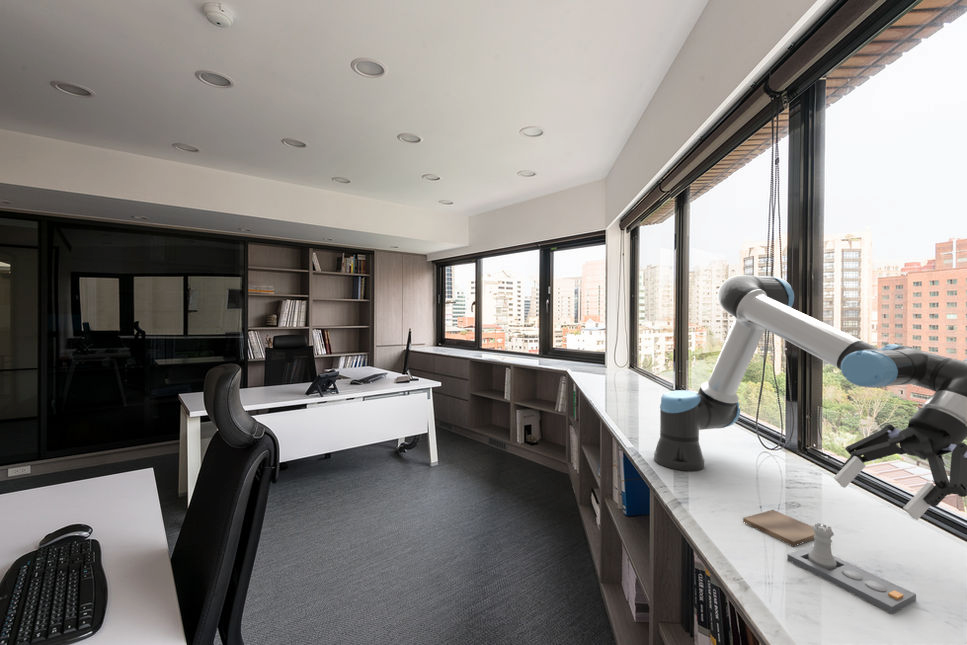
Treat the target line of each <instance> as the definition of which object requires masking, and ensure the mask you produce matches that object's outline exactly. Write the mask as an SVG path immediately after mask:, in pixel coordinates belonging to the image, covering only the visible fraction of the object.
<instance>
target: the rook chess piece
mask: <svg viewBox="0 0 967 645" xmlns="http://www.w3.org/2000/svg"><path fill="white" fill-rule="evenodd" d="M812 529H813V531H814V532H815V535H814V538H815V539H814V544H813V547H814V548H813V550H811V552H810V553H809V555H808V557H809V559H808V561H810V562H812V563H814V564H816V565H818V566H820V567H822V568H824V569H826V570H828V571H831V570H834V569H836V568H837V567H836V565H837V563H836V561H835V559H834V557H833V556H834V555H833V553H832V543H833V540H832V538H833V536H835V534H834V532H833V530H832V527H831V526H827V524H824V523H823V524H821V523H818V522H817V523H814V526H813V528H812ZM832 555H833V556H832Z"/></svg>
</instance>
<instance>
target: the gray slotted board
mask: <svg viewBox="0 0 967 645" xmlns="http://www.w3.org/2000/svg"><path fill="white" fill-rule="evenodd" d="M813 548H814V545H810V546H807V547H803V548H801V549H797V550H795V551H792V552H790V553H787V555H786V556H787V559H786V560H787V562H791V563H793V564H794V565H796V566H798V567H800V568H802V569H804V570H806V571H807V572H810V573H812V574H813V575H816V576H818V577H819V578H821V579H824V580H825V581H827V582H829V583H831V584H833V585H835V586H837V587H838V588H840V589H842V590H845V591H847V592H849V593H851V594H852V595H854V596H856V597H858V598H861V599H862V600H864V601H866V602H868V603H870V604H871V605H874V606H875V607H877V608H879V609H882V610H883V611H885V612H887V613H889V614H891V615H893V614H894V613H896V612H898V611H901V609H904V608H905V607H908V606H909V605H911V604H913V603H915V602H916V601H917V593H915V592H912V591H910V590H908V589H906V588H904V587H902V586H899V585H897V584H895V583H893V582H891V581H889V580H888V579H887V580H886V579H885V578H883V577H880V576H878V575H876V574H874V573H872V572H870V571H867V570H865V569H863V568H861V567H858V566H857V565H854V564H852V563H849V562H848V561H846V560H843V559H841V558H839V557H837V556H834V555H833V554H832V556H833V557H834V559H835V561H836V563H837V565H836V569H834V570H831V571H828V570H826V569H824V568H822V567H820V566H818V565H816V564H814V563H812V562H810V561H808V560H807V559H809V557H808V555H809V553H810V552H811V550H813Z"/></svg>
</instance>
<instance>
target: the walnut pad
mask: <svg viewBox="0 0 967 645" xmlns="http://www.w3.org/2000/svg"><path fill="white" fill-rule="evenodd" d="M742 520H743V521H742V523H744V522H745V523H744V524H746V523H747V524H746V525H748V526H750V527H752V528H755V529H757V530H759V531H761V532H763V533H765V534H766V535H769V536H771V537H774V538H775V539H777V540H779V541H781V542H783V541H784V543H785V542H786V543H785V544H787V543H788V545H790V544H791V545H790V546H792V545H793V546H792V547H796V546H798V545H797V544H799V545H801V544H800V543H802V542H805V543H807V542H806V541H808V542H810V541H809V540H811V541H813V540H815V538H814V535H815V532H814V531H813V529H812V528H813V527H814V526H812V525H810V524H808V523H806V522H804V521H800V520H798V519H796V518H793V517H791V516H789V515H787V514H784V513H782V512H779V511H777V510H775V509H770V510H766V511H763V512H759V513H756V514H752V515H748V516H746V517H742ZM812 539H813V540H812ZM802 544H803V543H802ZM795 545H796V546H795Z"/></svg>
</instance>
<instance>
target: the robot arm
mask: <svg viewBox="0 0 967 645" xmlns="http://www.w3.org/2000/svg"><path fill="white" fill-rule="evenodd" d="M716 296H717V302H718V305H719V306H720V307H721V309H723V311H725V313H728V314H729V315H731V316H733V318H734V319H733V322H732V324H731V327H730V329H729V331H728V334H727V336H726V338H725V341H724V343H723V346H722V349H721V350H720V353H719V355H718V358H717V360H716V362H715V365H714V367H713V370H712V372H711V375H710V377H709V378H708V381H706V382H703V383H701V385H700V387H699V389H698V392H696V391H693V390H686V389H682V390H679V389H678V390H671V391H667V392H665V393H663V394H662V396H661V397H660V405H659V408H660V411H659V413H660V414H659V415H660V417H659V418H660V419H659V420H660V422H659V423H660V424H659V425H660V426H659V430H660V431H659V440H658V441H657V445H656V447H655V450H654V453H653V460H654V461H655V462H656V463H657V464H659V465H661V466H663V467H666V468H668V469H669V468H670V469H674V470H677V471H686V472H687V471H690V472H692V471H695V472H696V471H700V470H703V469H704V468H705V458H704V456H703V452H702V448H701V445H700V442H699V441H700V438H699V437H700V431H701V430H702V431H703V430H712V429H715V430H716V429H725V428H727V427H728V428H729V427H730V426H733V425H734V424H736V423H737V421H738V420H739V417H740V415H741V408H740V403H739V400H740V399H739V396H738V394H737V391H738V389H739V386H740V385H741V383H742V380H743V379H744V376H745V374H746V372H747V370H748V368H749V366H750V363H751V361H752V358H753V357H754V355H755V352H756V350H757V349H758V346H759V344H760V341H761V339H762V337H763V335H764V333H765V331H767V332H768V331H769V332H770V333H771V334H773V335H776V336H777V337H779V338H781V339H783V340H785V341H787V342H789V343H791V344H792V345H794V346H795V347H798V348H800V350H804V351H805V352H807V353H808V354H811V355H812V356H814V357H816V358H817V359H820V360H822V361H824V362H825V363H827V364H829V365H831V366H832V367H835V368H836V369H839V370H840V372H841V374H842V375H843V377H844V378H845V379H846V380H847V382H849V383H850V384H853V385H855V386H858V387H863V388H865V387H866V388H871V389H872V388H882V387H892V386H905V385H912V386H916V387H920V388H924V389H926V390H929V391H931V392H934V393H933V395H932V396H931V397H930V398H928V400H927V401H926V402H924V403H923V405H922V406H921V408H919V409H918V410H917V411H916V412H915V413H914V414H913V415H912V417H910V418H909V420H908V423H907V424H908V425H907V427H906V428H904V429H902V430H901V429H898V428H896V427H895V426H894V425H893V424H889V423H888V424H887V425H885V426H884V427H883V428H881V429H880V430H879V431H876V432H875V433H873V434H871V435H870V434H869V435H868V436H867V437H866V436H865V437H864V438H861V439H860V440H858V441H855V442H854V443H851V444H850V445H847V446H846V447H845V448H844V449H845V451H846V452H847V453H848V454H849V455H850V457H848V459H847V460H845V462H844V463H843V464H842V466H841V467H842V468H841V469H840V470H839V471H838V472H837V473H836V474H835V475H834V476H833V479H834V480H835V481H836V482H837V483H838V484H839V485H840V487H842V488H846V487H847V486H848V485H850V484H851V482H852V481H853V480H854V479H856V477H858V475H859V474H860V473H861V472H862V471H863V470H864V469H865V468H866V464H865V463H867V462H872V461H875V460H879V459H883V458H887V457H889V456H890V457H891V456H893V455H906V454H907V455H909V456H912V457H918V458H919V459H922V460H924V461H925V460H927V463H928V466H929V469H930V472H931V475H932V479H933V480H931V482H933V483H931V482H929V481H927V482H926V483H925V484H924V485H923V486H922V487H921V488H920V489H919V490H918V491H917V493H915V494H914V496H912V498H911V499H910V500H909V501H908V502H907V503H906V504H905V505H904V506H903V508H902V509H904V510H905V512H906V513H907V514H908V515H909V516H910V517H911V518H912V519H914V520H916V521H918V520H920V518H921V517H922V516H923V515H924V514H925V513H926V512H927V510H929V508H930V507H937V506H938V505H939V504H940V503H941V502H942V501H943V500H944V499H945V498H946V497H947V496H950V495H958V496H959V497H961V498H965V497H967V444H966V443H965V442H963V441H965V440H966V438H967V358H965V359H964V360H961V359H958V358H951V357H947V356H943V355H940V354H935V353H932V352H928V351H924V350H920V349H917V348H913V347H912V346H908V345H907V346H906V345H905V346H904V345H900V344H895V343H890V344H886V345H885V346H884V347H880V348H879V347H876V346H875V345H873V344H870V343H868V342H865V341H864V340H861V339H859V338H857V337H856V336H853V335H850V334H849V333H846V332H844V331H842V330H840V329H838V328H835V327H833V326H832V325H830V324H827V323H825V322H823V321H820V320H818V319H816V318H814V317H812V316H809V315H808V314H805V313H803V312H801V311H799V310H796V309H794V308H792V307H793V306H794V305H793V304H794V301H795V293H794V290H793V288H792V286H791V284H790V283H789V282H788V281H786V280H785V279H783V278H781V277H777V276H771V275H748V274H736V275H734V276H731V277H729V278H726V280H724V281H723V283H721V284H720V286H719V288H718V291H717V295H716ZM898 444H899V445H898ZM899 446H900V447H899ZM950 453H951V457H950V471H949V478H948V475H947V471H946V468H945V462H944V459H943V456H944V455H947V454H950Z"/></svg>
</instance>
